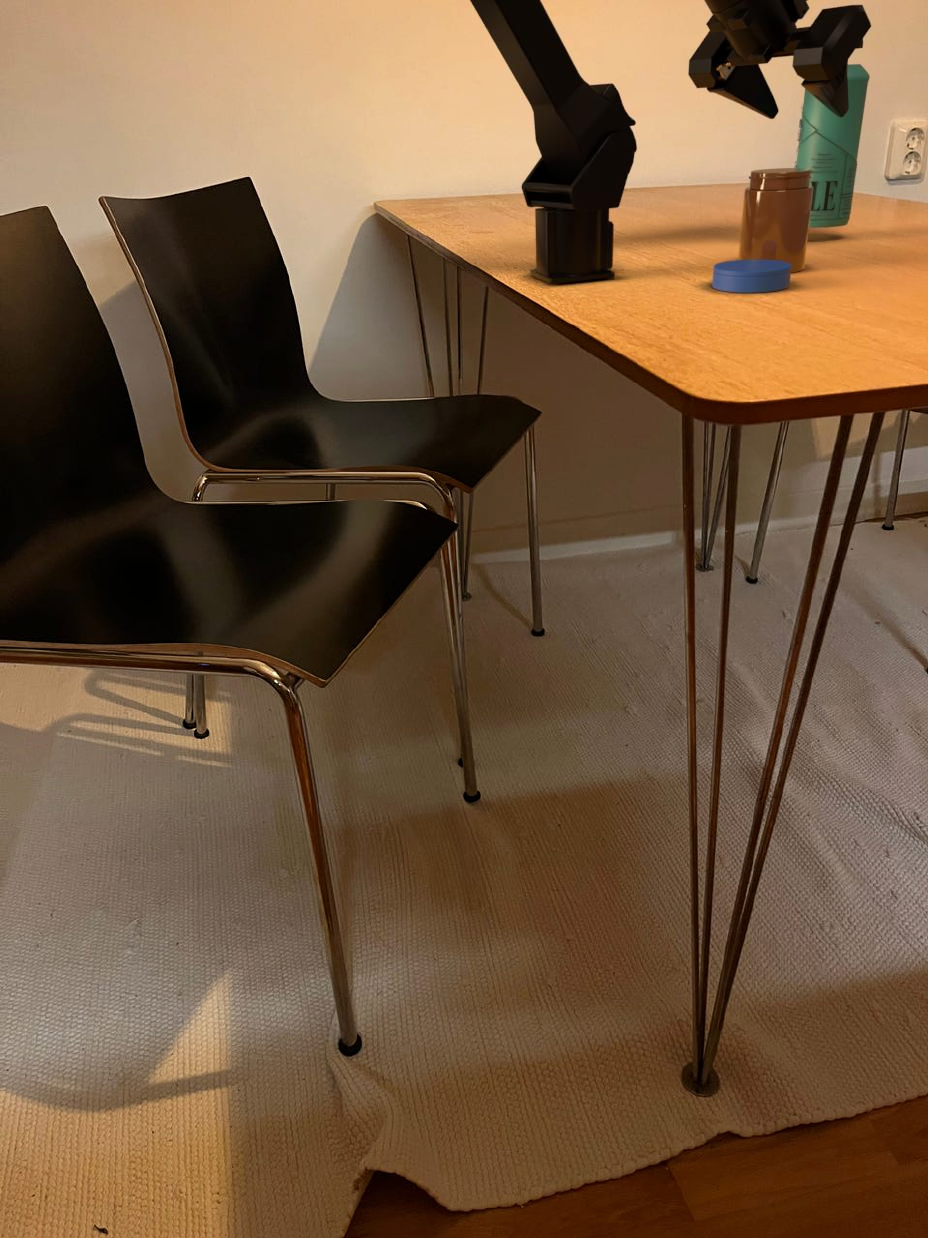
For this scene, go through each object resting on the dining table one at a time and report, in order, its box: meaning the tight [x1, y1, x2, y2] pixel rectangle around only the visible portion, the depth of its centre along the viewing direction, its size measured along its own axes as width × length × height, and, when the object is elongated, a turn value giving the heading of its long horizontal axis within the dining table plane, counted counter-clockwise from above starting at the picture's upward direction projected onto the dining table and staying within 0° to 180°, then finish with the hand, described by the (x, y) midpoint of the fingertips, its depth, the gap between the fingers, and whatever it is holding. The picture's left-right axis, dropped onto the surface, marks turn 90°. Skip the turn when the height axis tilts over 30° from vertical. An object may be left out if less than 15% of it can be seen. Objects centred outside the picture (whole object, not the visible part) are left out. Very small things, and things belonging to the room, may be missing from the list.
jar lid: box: [711, 259, 792, 294], centre depth 80 cm, size 6×6×2 cm
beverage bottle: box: [793, 38, 871, 229], centre depth 97 cm, size 6×7×20 cm
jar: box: [737, 167, 814, 274], centre depth 85 cm, size 6×6×8 cm
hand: (808, 114), depth 94 cm, fingers open, 9 cm apart
